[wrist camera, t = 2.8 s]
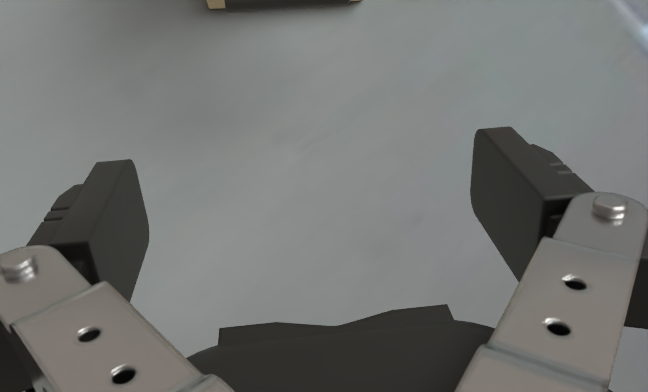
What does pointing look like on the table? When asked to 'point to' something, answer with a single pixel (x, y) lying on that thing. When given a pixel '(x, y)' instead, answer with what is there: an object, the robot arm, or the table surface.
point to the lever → (279, 4)
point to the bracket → (217, 1)
